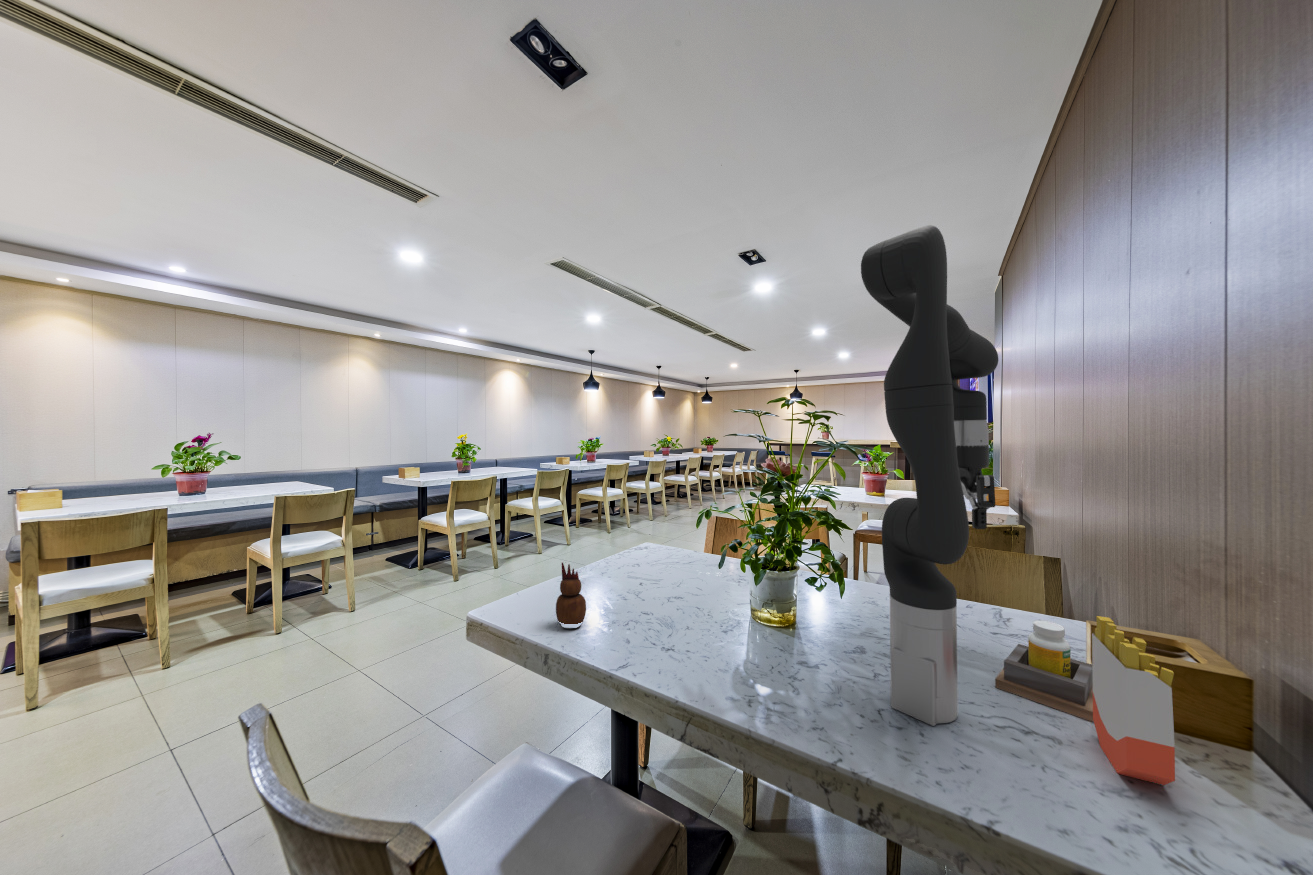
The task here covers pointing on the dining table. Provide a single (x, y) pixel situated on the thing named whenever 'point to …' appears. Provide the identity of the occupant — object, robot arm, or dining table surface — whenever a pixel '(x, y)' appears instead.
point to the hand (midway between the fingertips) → (966, 524)
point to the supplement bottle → (1049, 648)
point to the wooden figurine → (570, 599)
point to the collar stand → (1049, 684)
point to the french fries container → (1132, 706)
